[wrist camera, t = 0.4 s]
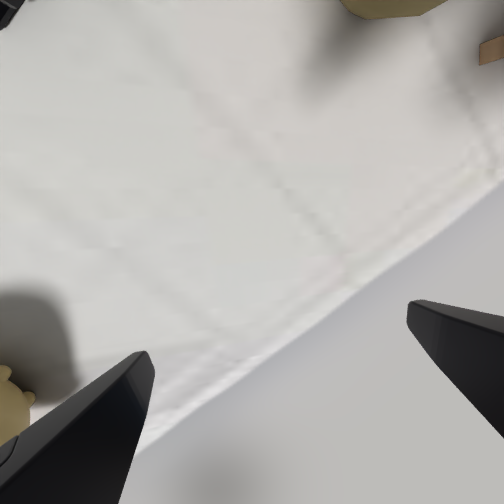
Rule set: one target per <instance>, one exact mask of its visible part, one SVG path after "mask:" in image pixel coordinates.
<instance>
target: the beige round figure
mask: <svg viewBox="0 0 504 504" xmlns="http://www.w3.org/2000/svg"><path fill="white" fill-rule="evenodd" d="M10 375H11V369H10V368H9V367H8V366H4V365H1V366H0V446H1V445H3V444H4V443H6V442H7V441H9V440H10V439H11V438H13V437H14V436H16V435H19V434H20V433H21V432H22V431H24V430H25V429H26V428H28V427H29V425H30V410H29V408H30V407H31V406H32V404H33V403H34V401H35V395H34V393H32V392H23V393H22V391H21V390H20V389H19V388H18V387H17V386H16V385H15V384H13V383H12V382H10V381H9V380H8V378H9V377H10Z"/></svg>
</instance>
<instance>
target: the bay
mask: <svg viewBox="0 0 504 504" xmlns="http://www.w3.org/2000/svg"><path fill="white" fill-rule="evenodd" d="M501 58H504V35H502V36H500V37H497V38H495V39H492V40H490V41H487V42H485V43H482V44H480V58H479V65H482V64H486V63H489V62H492V61H495V60H498V59H501Z"/></svg>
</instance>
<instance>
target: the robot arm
mask: <svg viewBox="0 0 504 504" xmlns="http://www.w3.org/2000/svg"><path fill="white" fill-rule="evenodd" d="M23 1H24V0H0V30H2V29H3V28H4V27H5V25H6V24H7V22H8V21H9V19H10V18H11V16H12V15H13V13H14V12H15V10H16V9H18V8H19V7H20V6H21V4H22V3H23ZM407 325H408V328H409V329H410V331H411V332H412V333H413V334H414V336H415V338H416V339H417V340H418V342H419V343H420V344H421V346H422V347H423V348H424V350H425V351H426V352H427V354H428V355H429V356H430V358H431V359H432V360H433V361H434V363H435V364H436V365H437V366H438V367H439V368H440V369H441V371H442V372H443V373H444V374H445V375H446V376H447V377H448V378H449V379H450V380H451V381H452V383H453V384H454V385H455V386H456V387H457V388H458V389H459V390H460V391H461V392H462V393H463V394H464V396H465V397H466V398H467V399H468V400H469V401H470V402H471V403H472V404H473V405H474V407H475V408H476V409H477V410H478V411H479V412H480V413H481V414H482V415H483V416H484V417H485V418H486V420H487V421H488V422H489V423H490V424H491V425H492V426H493V427H494V428H495V429H496V430H497V432H498V433H499V434H500V435H501V436H502V437H503V438H504V317H503V316H498V315H493V314H489V313H483V312H479V311H474V310H469V309H465V308H460V307H455V306H450V305H446V304H441V303H436V302H431V301H427V300H415V301H411V302H409V304H408V310H407ZM154 377H155V369H154V366H153V364H152V362H151V359H150V357H149V355H148V353H147V351H139V352H134V353H132V354H131V355H130V356H128V357H127V358H125V359H124V360H123V361H121V362H120V363H118V364H117V365H115V366H114V367H113V368H111V369H110V370H108V371H107V372H106V373H104V374H103V375H101V376H100V377H99V378H97V379H96V380H94V381H93V382H91V383H90V384H89V385H87V386H86V387H84V388H83V389H82V390H80V391H79V392H77V393H76V394H74V395H73V396H72V397H70V398H69V399H67V400H66V401H65V402H63V403H62V404H60V405H59V406H57V407H56V408H55V409H53V410H52V411H50V412H49V413H48V414H46V415H45V416H43V417H42V418H41V419H39V420H38V421H36V422H35V423H33V424H32V425H31V426H29V427H28V428H26V429H25V430H24V431H22V432H21V433H20V434H19V435H16V436H14V437H13V438H11V439H10V440H9V441H7V442H6V443H4V444H3V445H1V446H0V504H118V503H119V499H120V497H121V494H122V490H123V487H124V484H125V481H126V478H127V475H128V472H129V469H130V466H131V463H132V460H133V456H134V453H135V450H136V447H137V444H138V441H139V438H140V435H141V432H142V429H143V426H144V422H145V419H146V415H147V411H148V406H149V402H150V397H151V392H152V387H153V382H154Z"/></svg>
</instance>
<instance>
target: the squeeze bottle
mask: <svg viewBox="0 0 504 504" xmlns="http://www.w3.org/2000/svg"><path fill="white" fill-rule="evenodd" d="M340 1H341V2H342V3H343V4H344V6H345V7H346V8H347V10H348V11H349V12H351V13H353V14H355V15H357V16H359V17H361V18H363V19H382V18H396V17H410V16H420V15H422V14H424V13H426V12H427V11H429V10H431V9H433V8H435V7H436V6H438V5H440V4H442V3H444V2H446V1H447V0H340Z"/></svg>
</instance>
